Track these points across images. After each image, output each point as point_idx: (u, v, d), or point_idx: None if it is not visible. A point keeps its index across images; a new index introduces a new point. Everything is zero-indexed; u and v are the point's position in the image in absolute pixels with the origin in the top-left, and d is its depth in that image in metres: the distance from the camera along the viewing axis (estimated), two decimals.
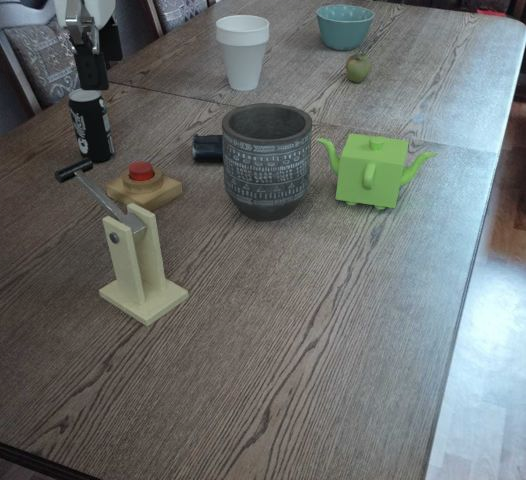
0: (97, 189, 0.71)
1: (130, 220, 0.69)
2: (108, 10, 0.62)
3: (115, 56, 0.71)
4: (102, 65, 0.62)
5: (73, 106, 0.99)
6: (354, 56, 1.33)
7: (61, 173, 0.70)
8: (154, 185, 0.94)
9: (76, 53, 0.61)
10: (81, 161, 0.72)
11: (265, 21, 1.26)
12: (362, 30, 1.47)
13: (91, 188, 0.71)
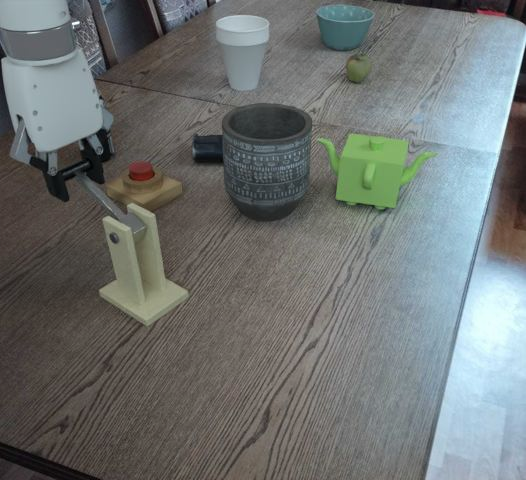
0: (97, 189, 0.71)
1: (130, 220, 0.69)
2: (68, 136, 0.66)
3: (96, 180, 0.74)
4: (60, 183, 0.69)
5: None
6: (354, 56, 1.33)
7: None
8: (154, 185, 0.94)
9: None
10: (81, 161, 0.72)
11: (265, 21, 1.26)
12: (362, 30, 1.47)
13: (91, 188, 0.71)
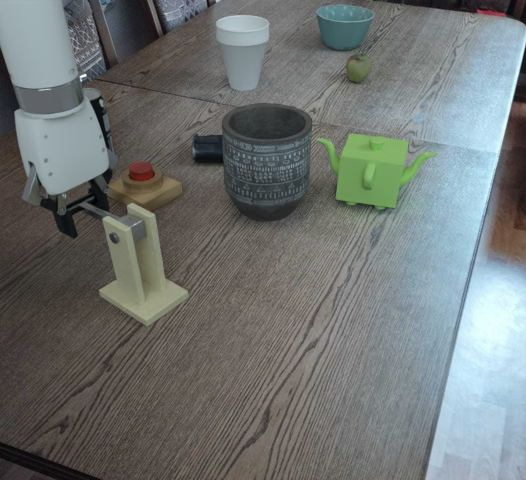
0: (98, 209, 0.74)
1: (127, 219, 0.70)
2: (77, 179, 0.71)
3: None
4: (69, 222, 0.74)
5: None
6: (354, 56, 1.33)
7: None
8: (154, 185, 0.94)
9: None
10: None
11: (265, 21, 1.26)
12: (362, 30, 1.47)
13: (93, 210, 0.74)
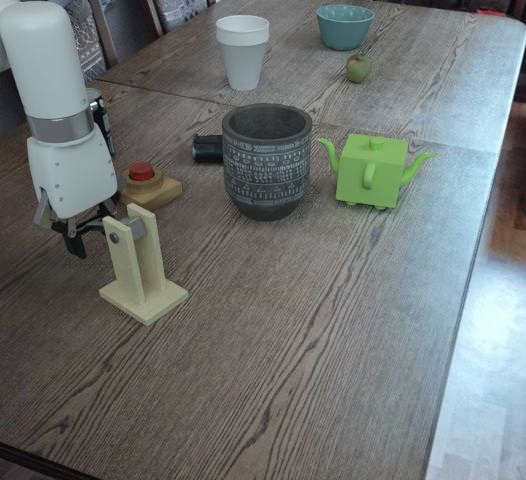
0: (102, 222, 0.75)
1: (125, 219, 0.70)
2: (86, 203, 0.73)
3: None
4: (78, 243, 0.76)
5: None
6: (354, 56, 1.33)
7: None
8: (154, 185, 0.94)
9: None
10: None
11: (265, 21, 1.26)
12: (362, 30, 1.47)
13: (98, 224, 0.75)
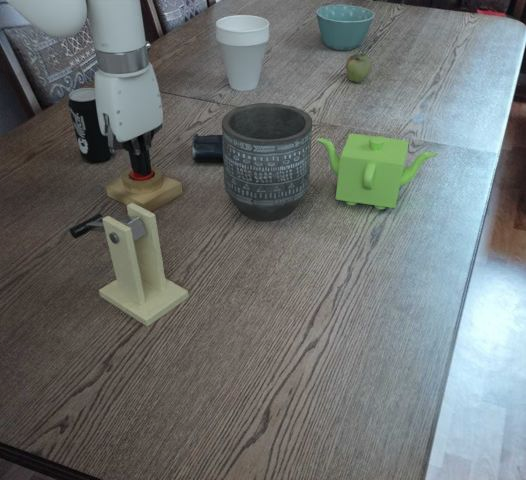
0: (102, 222, 0.75)
1: (125, 219, 0.70)
2: (139, 129, 0.88)
3: None
4: (142, 161, 0.92)
5: (73, 106, 0.99)
6: (354, 56, 1.33)
7: (73, 227, 0.76)
8: (154, 185, 0.94)
9: (128, 151, 0.92)
10: (92, 217, 0.78)
11: (265, 21, 1.26)
12: (362, 30, 1.47)
13: (98, 224, 0.75)
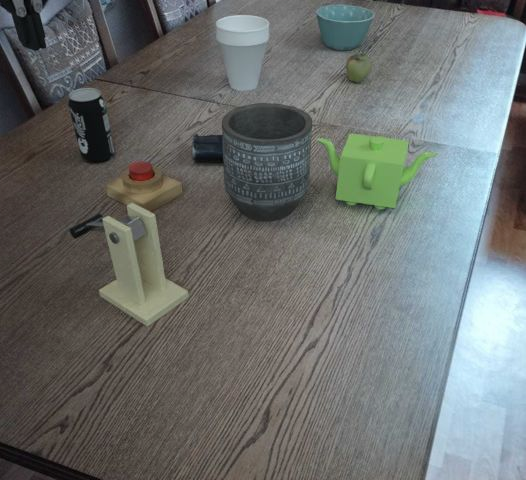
0: (102, 222, 0.75)
1: (125, 219, 0.70)
2: None
3: None
4: (29, 27, 0.69)
5: (73, 106, 0.99)
6: (354, 56, 1.33)
7: (73, 227, 0.76)
8: (154, 185, 0.94)
9: None
10: (92, 217, 0.78)
11: (265, 21, 1.26)
12: (362, 30, 1.47)
13: (98, 224, 0.75)
